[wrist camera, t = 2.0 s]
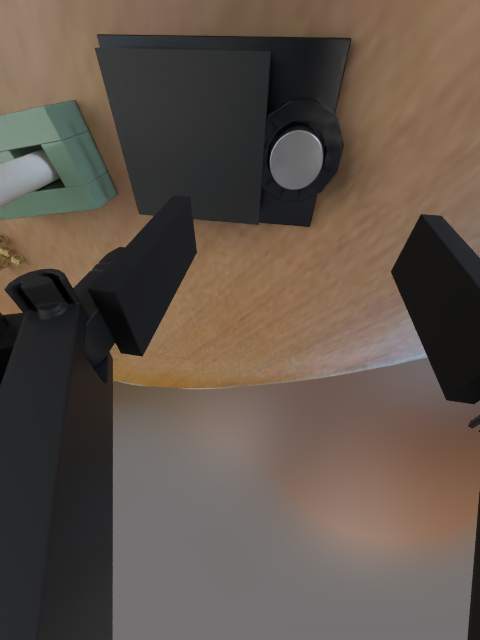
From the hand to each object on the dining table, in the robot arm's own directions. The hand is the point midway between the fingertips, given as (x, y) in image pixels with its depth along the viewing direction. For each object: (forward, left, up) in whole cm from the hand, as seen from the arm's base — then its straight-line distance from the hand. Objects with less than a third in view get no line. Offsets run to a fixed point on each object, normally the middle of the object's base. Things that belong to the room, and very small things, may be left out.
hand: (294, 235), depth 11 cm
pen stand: (-2, -25, -16) cm, 30 cm away
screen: (-1, -9, -13) cm, 16 cm away
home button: (0, 0, -13) cm, 13 cm away
